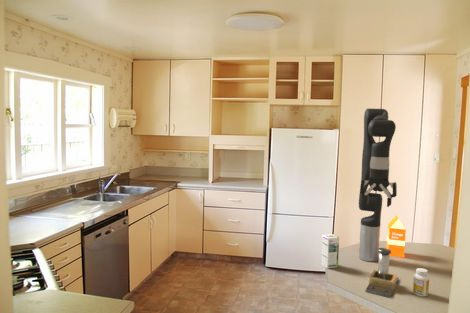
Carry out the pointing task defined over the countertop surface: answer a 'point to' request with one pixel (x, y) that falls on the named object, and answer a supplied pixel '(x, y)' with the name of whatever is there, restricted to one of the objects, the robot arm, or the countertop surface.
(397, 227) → the orange juice
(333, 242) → the syrup box
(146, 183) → the countertop surface
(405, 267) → the countertop surface
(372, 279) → the bolted socket base
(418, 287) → the supplement bottle
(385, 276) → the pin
